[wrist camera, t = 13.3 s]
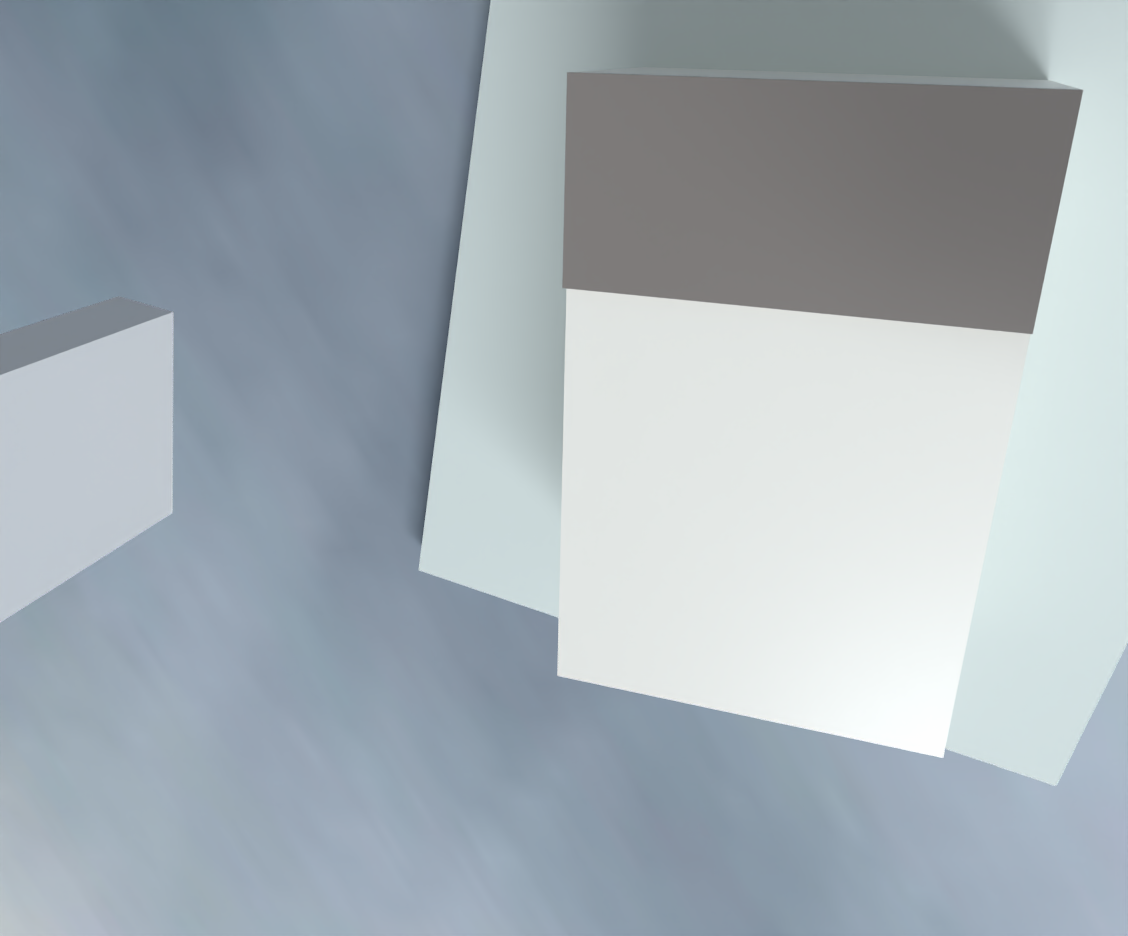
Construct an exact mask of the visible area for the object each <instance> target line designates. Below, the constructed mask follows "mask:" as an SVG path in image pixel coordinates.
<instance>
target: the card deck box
mask: <svg viewBox="0 0 1128 936" xmlns="http://www.w3.org/2000/svg"><path fill="white" fill-rule="evenodd" d="M1082 94H1083V90H1081V89H1078V88H1074V87H1071V86H1068V85H1064V84H1061V83H1057V82H1054V81H1050V80H1033V79H1002V78H971V77H940V76H908V75H877V74H846V73H814V72H783V71H752V70H721V69H689V68H658V67H637V68H622V69H608V70H594V71H580V72H567V95H566V141H565V187H564V233H563V279H562V288H566V330H565V373H564V416H563V458H562V501H561V544H560V587H559V630H558V673H557V676H561V677H565V678H570V679H575V680H580V681H584V682H589V683H594V684H598V685H603V686H608V687H612V688H617V689H622V690H626V691H631V692H636V693H641V694H645V695H650V696H655V697H659V698H664V699H669V700H673V701H678V702H683V703H688V704H692V705H697V706H702V707H706V708H711V709H716V710H720V711H725V712H730V713H735V714H739V715H744V716H749V717H753V718H758V719H763V720H767V721H772V722H777V723H781V724H786V725H791V726H796V727H800V728H805V729H810V730H814V731H819V732H824V733H828V734H833V735H838V736H843V737H847V738H852V739H857V740H861V741H866V742H871V743H875V744H880V745H885V746H890V747H894V748H899V749H904V750H908V751H913V752H918V753H922V754H927V755H932V756H936V757H941V758H943V756H944V751H945V746H946V742H947V737H948V732H949V727H950V722H951V717H952V712H953V708H954V703H955V698H956V693H957V688H958V683H959V679H960V674H961V669H962V664H963V659H964V654H965V650H966V645H967V640H968V635H969V630H970V625H971V621H972V616H973V611H974V606H975V601H976V596H977V591H978V587H979V582H980V577H981V572H982V567H983V562H984V558H985V553H986V548H987V543H988V538H989V533H990V529H991V524H992V519H993V514H994V509H995V504H996V499H997V495H998V490H999V485H1000V480H1001V475H1002V470H1003V466H1004V461H1005V456H1006V451H1007V446H1008V441H1009V437H1010V432H1011V427H1012V422H1013V417H1014V412H1015V408H1016V403H1017V398H1018V393H1019V388H1020V383H1021V378H1022V374H1023V369H1024V364H1025V359H1026V354H1027V349H1028V345H1029V340H1030V335H1031V334H1033V330H1034V326H1035V321H1036V316H1037V311H1038V306H1039V301H1040V297H1041V292H1042V287H1043V282H1044V277H1045V273H1046V268H1047V263H1048V258H1049V253H1050V248H1051V244H1052V239H1053V234H1054V229H1055V224H1056V219H1057V215H1058V210H1059V205H1060V200H1061V195H1062V191H1063V186H1064V181H1065V176H1066V171H1067V166H1068V162H1069V157H1070V152H1071V147H1072V142H1073V138H1074V133H1075V128H1076V123H1077V118H1078V113H1079V109H1080V104H1081V99H1082Z"/></svg>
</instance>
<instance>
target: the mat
mask: <svg viewBox="0 0 1128 936" xmlns="http://www.w3.org/2000/svg"><path fill="white" fill-rule="evenodd" d="M637 67H658V68H689V69H721V70H752V71H783V72H814V73H846V74H877V75H908V76H940V77H971V78H1002V79H1033V80H1050V81H1054V82H1057V83H1061V84H1064V85H1068V86H1071V87H1074V88H1078V89H1081V90H1083V94H1082V99H1081V104H1080V109H1079V113H1078V118H1077V123H1076V128H1075V133H1074V138H1073V142H1072V147H1071V152H1070V157H1069V162H1068V166H1067V171H1066V176H1065V181H1064V186H1063V191H1062V195H1061V200H1060V205H1059V210H1058V215H1057V219H1056V224H1055V229H1054V234H1053V239H1052V244H1051V248H1050V253H1049V258H1048V263H1047V268H1046V273H1045V277H1044V282H1043V287H1042V292H1041V297H1040V301H1039V306H1038V311H1037V316H1036V321H1035V326H1034V330H1033V334H1031V335H1030V340H1029V345H1028V349H1027V354H1026V359H1025V364H1024V369H1023V374H1022V378H1021V383H1020V388H1019V393H1018V398H1017V403H1016V408H1015V412H1014V417H1013V422H1012V427H1011V432H1010V437H1009V441H1008V446H1007V451H1006V456H1005V461H1004V466H1003V470H1002V475H1001V480H1000V485H999V490H998V495H997V499H996V504H995V509H994V514H993V519H992V524H991V529H990V533H989V538H988V543H987V548H986V553H985V558H984V562H983V567H982V572H981V577H980V582H979V587H978V591H977V596H976V601H975V606H974V611H973V616H972V621H971V625H970V630H969V635H968V640H967V645H966V650H965V654H964V659H963V664H962V669H961V674H960V679H959V683H958V688H957V693H956V698H955V703H954V708H953V712H952V717H951V722H950V727H949V732H948V737H947V742H946V746H945V749H947V750H950V751H953V752H956V753H959V754H962V755H965V756H968V757H971V758H974V759H977V760H980V761H983V762H986V763H989V764H992V765H995V766H998V767H1000V768H1003V769H1006V770H1009V771H1012V772H1015V773H1018V774H1021V775H1024V776H1027V777H1030V778H1033V779H1036V780H1039V781H1042V782H1045V783H1048V784H1051V785H1054V786H1057V784H1058V782H1059V780H1060V778H1061V776H1062V774H1063V772H1064V770H1065V768H1066V766H1067V764H1068V762H1069V760H1070V758H1071V756H1072V754H1073V752H1074V750H1075V748H1076V746H1077V743H1078V741H1079V739H1080V737H1081V735H1082V733H1083V731H1084V729H1085V727H1086V725H1087V723H1088V721H1089V719H1090V717H1091V715H1092V713H1093V711H1094V709H1095V707H1096V705H1097V703H1098V701H1099V699H1100V697H1101V695H1102V693H1103V691H1104V689H1105V687H1106V685H1107V683H1108V681H1109V679H1110V677H1111V675H1112V673H1113V671H1114V669H1115V667H1116V665H1117V663H1118V661H1119V659H1120V657H1121V655H1122V653H1123V651H1124V649H1125V647H1126V645H1127V643H1128V0H491V2H490V10H489V17H488V25H487V33H486V41H485V49H484V57H483V65H482V73H481V81H480V89H479V97H478V104H477V112H476V120H475V128H474V136H473V144H472V152H471V160H470V168H469V176H468V184H467V191H466V199H465V207H464V215H463V223H462V231H461V239H460V247H459V255H458V263H457V271H456V278H455V286H454V294H453V302H452V310H451V318H450V326H449V334H448V342H447V350H446V358H445V365H444V373H443V381H442V389H441V397H440V405H439V413H438V421H437V429H436V437H435V445H434V452H433V460H432V468H431V476H430V484H429V492H428V500H427V508H426V516H425V524H424V532H423V539H422V547H421V555H420V563H419V570H420V571H423V572H426V573H428V574H431V575H434V576H437V577H440V578H443V579H446V580H449V581H452V582H455V583H458V584H461V585H464V586H467V587H470V588H473V589H476V590H479V591H482V592H485V593H487V594H490V595H493V596H496V597H499V598H502V599H505V600H508V601H511V602H514V603H517V604H520V605H523V606H526V607H529V608H532V609H535V610H538V611H541V612H543V613H546V614H549V615H552V616H555V617H558V618H559V587H560V544H561V501H562V458H563V416H564V373H565V330H566V288H562V279H563V233H564V187H565V141H566V95H567V72H580V71H594V70H608V69H622V68H637Z"/></svg>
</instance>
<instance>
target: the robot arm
mask: <svg viewBox="0 0 1128 936" xmlns="http://www.w3.org/2000/svg"><path fill="white" fill-rule="evenodd" d="M172 513H173V312H172V311H168V310H165V309H161V308H158V307H154V306H151V305H147V304H144V303H140V302H137V301H133V300H130V299H126V298H123V297H119V296H118V297H115V298H112V299H109V300H106V301H103V302H100V303H96V304H93V305H90V306H87V307H84V308H81V309H78V310H75V311H71V312H68V313H65V314H62V315H59V316H56V317H53V318H50V319H46V320H43V321H40V322H37V323H34V324H31V325H28V326H25V327H22V328H18V329H15V330H12V331H9V332H6V333H3V334H0V623H1V622H2V621H4V620H5V619H7V618H8V617H10V616H11V615H13V614H15V613H16V612H18V611H19V610H21V609H22V608H24V607H26V606H27V605H29V604H30V603H32V602H33V601H35V600H37V599H38V598H40V597H41V596H43V595H44V594H46V593H48V592H49V591H51V590H52V589H54V588H55V587H57V586H59V585H60V584H62V583H63V582H65V581H66V580H68V579H70V578H71V577H73V576H74V575H76V574H77V573H79V572H81V571H82V570H84V569H85V568H87V567H88V566H90V565H92V564H93V563H95V562H96V561H98V560H99V559H101V558H103V557H104V556H106V555H107V554H109V553H110V552H112V551H114V550H115V549H117V548H118V547H120V546H121V545H123V544H125V543H126V542H128V541H129V540H131V539H132V538H134V537H136V536H137V535H139V534H140V533H142V532H143V531H145V530H147V529H148V528H150V527H151V526H153V525H154V524H156V523H158V522H159V521H161V520H162V519H164V518H165V517H167V516H168V515H170V514H172Z"/></svg>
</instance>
